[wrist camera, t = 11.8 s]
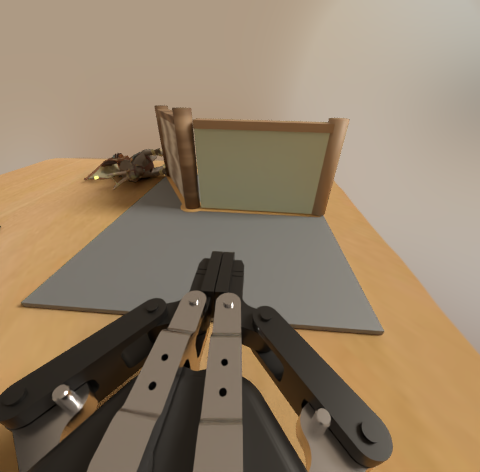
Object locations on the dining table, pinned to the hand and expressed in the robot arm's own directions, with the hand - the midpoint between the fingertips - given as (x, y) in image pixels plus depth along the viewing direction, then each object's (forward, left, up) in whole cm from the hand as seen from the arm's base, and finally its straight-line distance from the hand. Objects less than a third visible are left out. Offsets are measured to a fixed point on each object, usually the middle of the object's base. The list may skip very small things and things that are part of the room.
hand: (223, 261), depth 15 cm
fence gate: (+3, +20, -6) cm, 21 cm away
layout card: (-3, +18, -7) cm, 20 cm away
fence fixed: (-13, +28, -6) cm, 31 cm away
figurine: (-26, +35, -7) cm, 44 cm away
